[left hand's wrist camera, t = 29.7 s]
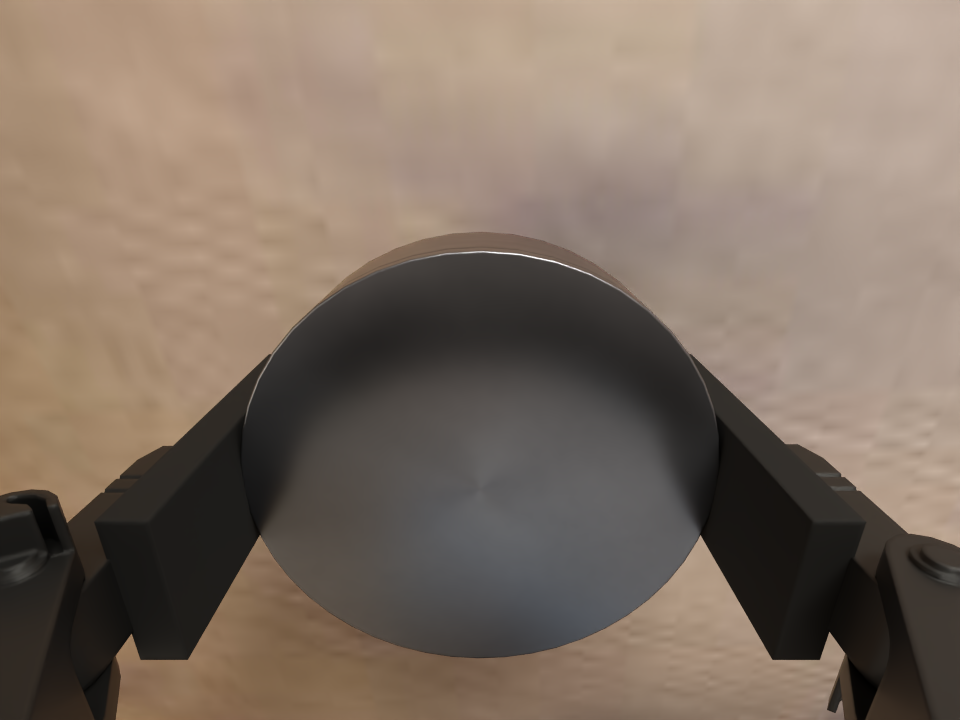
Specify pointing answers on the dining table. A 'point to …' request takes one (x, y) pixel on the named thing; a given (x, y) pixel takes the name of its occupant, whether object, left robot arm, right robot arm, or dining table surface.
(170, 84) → the dining table surface
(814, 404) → the dining table surface
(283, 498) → the lid
